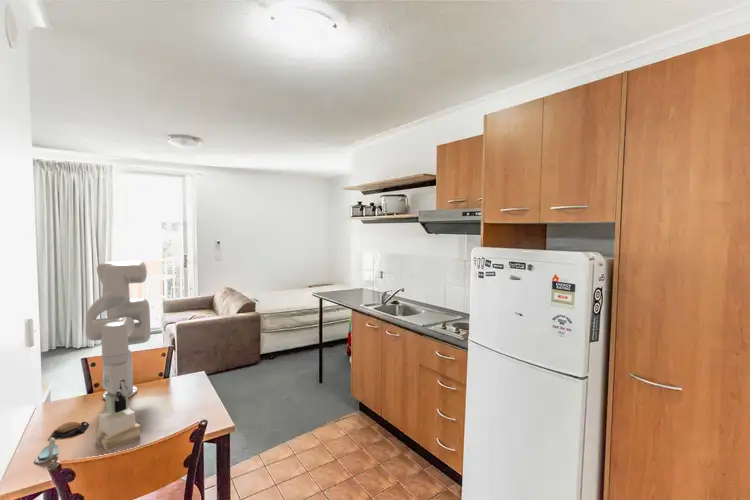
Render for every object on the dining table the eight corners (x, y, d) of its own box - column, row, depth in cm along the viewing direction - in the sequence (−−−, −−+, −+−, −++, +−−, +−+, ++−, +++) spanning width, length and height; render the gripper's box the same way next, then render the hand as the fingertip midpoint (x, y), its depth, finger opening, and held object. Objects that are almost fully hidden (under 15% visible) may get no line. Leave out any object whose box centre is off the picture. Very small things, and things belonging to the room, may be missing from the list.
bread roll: (46, 443, 127) (45, 433, 127) (55, 430, 135) (54, 421, 134) (84, 436, 131) (83, 426, 131) (90, 424, 139) (90, 415, 139)
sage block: (105, 410, 127) (105, 393, 127) (122, 404, 131) (121, 388, 131) (111, 415, 124) (111, 398, 124) (128, 409, 129) (127, 392, 128)
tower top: (99, 428, 127) (98, 414, 127) (124, 418, 134) (124, 405, 134) (109, 436, 123) (108, 422, 123) (135, 425, 130) (134, 412, 129)
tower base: (96, 442, 127) (95, 428, 127) (128, 429, 136) (128, 416, 135) (107, 453, 122) (107, 438, 121) (140, 439, 130) (140, 425, 130)
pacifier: (34, 468, 114) (59, 459, 118) (32, 449, 113) (58, 441, 117) (34, 456, 119) (58, 448, 123) (32, 438, 118) (57, 431, 123)
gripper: (93, 355, 128) (94, 405, 130) (113, 367, 119) (114, 420, 120) (117, 349, 134) (119, 397, 136) (138, 360, 125) (139, 411, 126)
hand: (117, 407), depth 128 cm, fingers closed on sage block, 4 cm apart
